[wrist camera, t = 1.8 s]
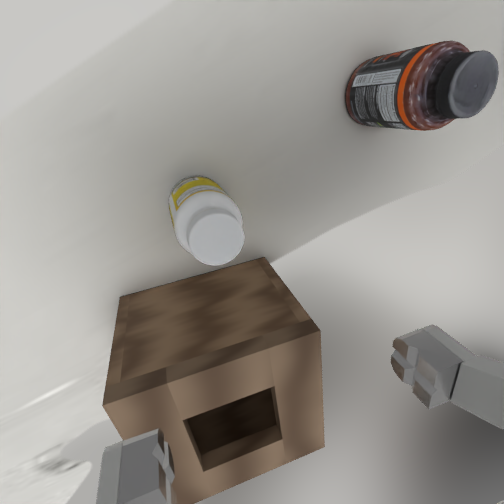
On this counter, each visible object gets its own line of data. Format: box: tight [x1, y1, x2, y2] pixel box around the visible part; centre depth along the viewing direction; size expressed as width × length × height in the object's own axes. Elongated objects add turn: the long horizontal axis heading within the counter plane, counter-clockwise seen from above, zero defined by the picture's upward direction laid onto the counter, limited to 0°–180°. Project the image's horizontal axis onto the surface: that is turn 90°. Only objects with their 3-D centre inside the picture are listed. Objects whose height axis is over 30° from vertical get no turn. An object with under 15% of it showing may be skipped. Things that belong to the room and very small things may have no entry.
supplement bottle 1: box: [169, 176, 244, 266], centre depth 25 cm, size 5×5×10 cm
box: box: [102, 257, 325, 504], centre depth 30 cm, size 16×16×13 cm
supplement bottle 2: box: [346, 41, 499, 131], centre depth 25 cm, size 6×6×11 cm
